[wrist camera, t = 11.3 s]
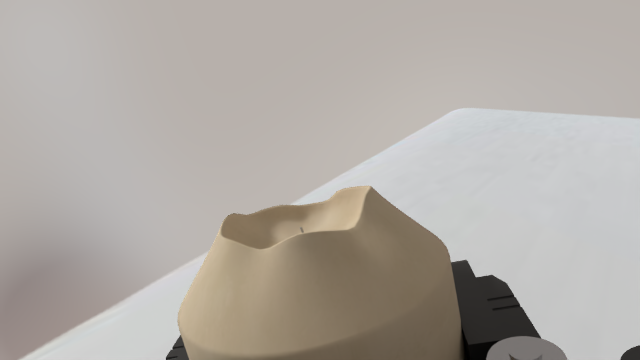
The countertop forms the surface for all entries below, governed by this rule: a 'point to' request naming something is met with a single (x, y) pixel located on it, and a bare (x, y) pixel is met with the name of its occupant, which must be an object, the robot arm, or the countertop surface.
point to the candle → (324, 286)
